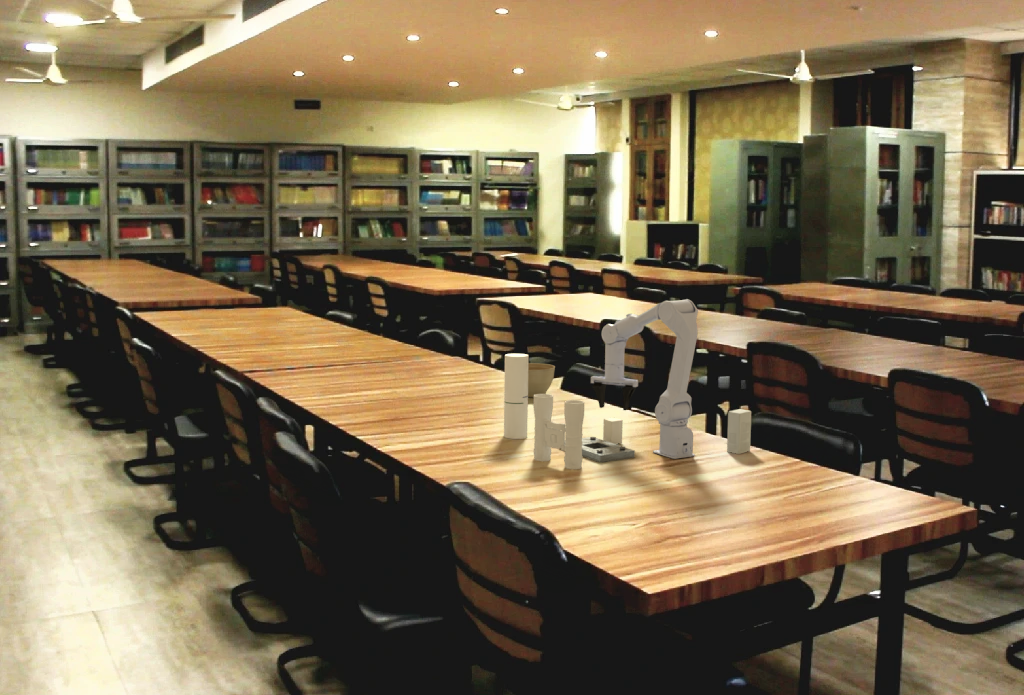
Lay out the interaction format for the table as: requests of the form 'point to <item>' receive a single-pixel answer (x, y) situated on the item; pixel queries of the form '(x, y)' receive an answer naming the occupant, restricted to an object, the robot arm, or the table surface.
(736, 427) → the skincare box
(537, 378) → the planter bowl
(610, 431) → the cream rectangular block
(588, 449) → the strike plate
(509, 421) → the cylindrical container
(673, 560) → the table surface
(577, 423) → the binoculars
